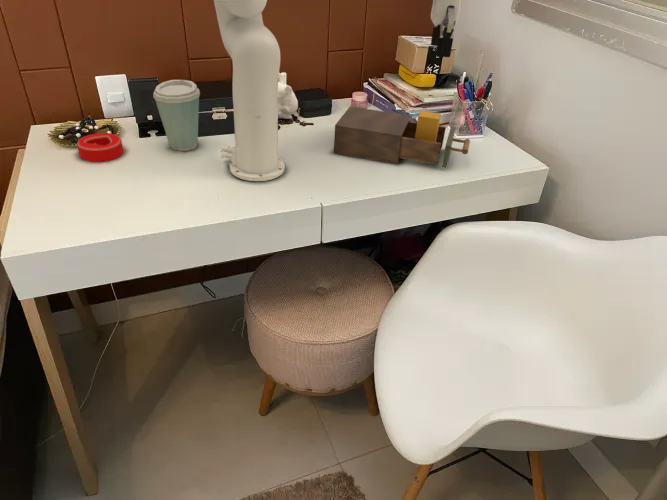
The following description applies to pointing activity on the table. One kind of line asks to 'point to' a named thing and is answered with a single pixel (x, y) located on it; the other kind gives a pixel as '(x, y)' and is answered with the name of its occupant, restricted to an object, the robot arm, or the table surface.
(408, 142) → the drawer
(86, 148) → the decorative ornament
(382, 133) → the cabinet
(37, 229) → the table surface
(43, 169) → the table surface
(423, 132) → the block
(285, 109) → the white figurine
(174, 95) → the disposable coffee cup
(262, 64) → the robot arm
